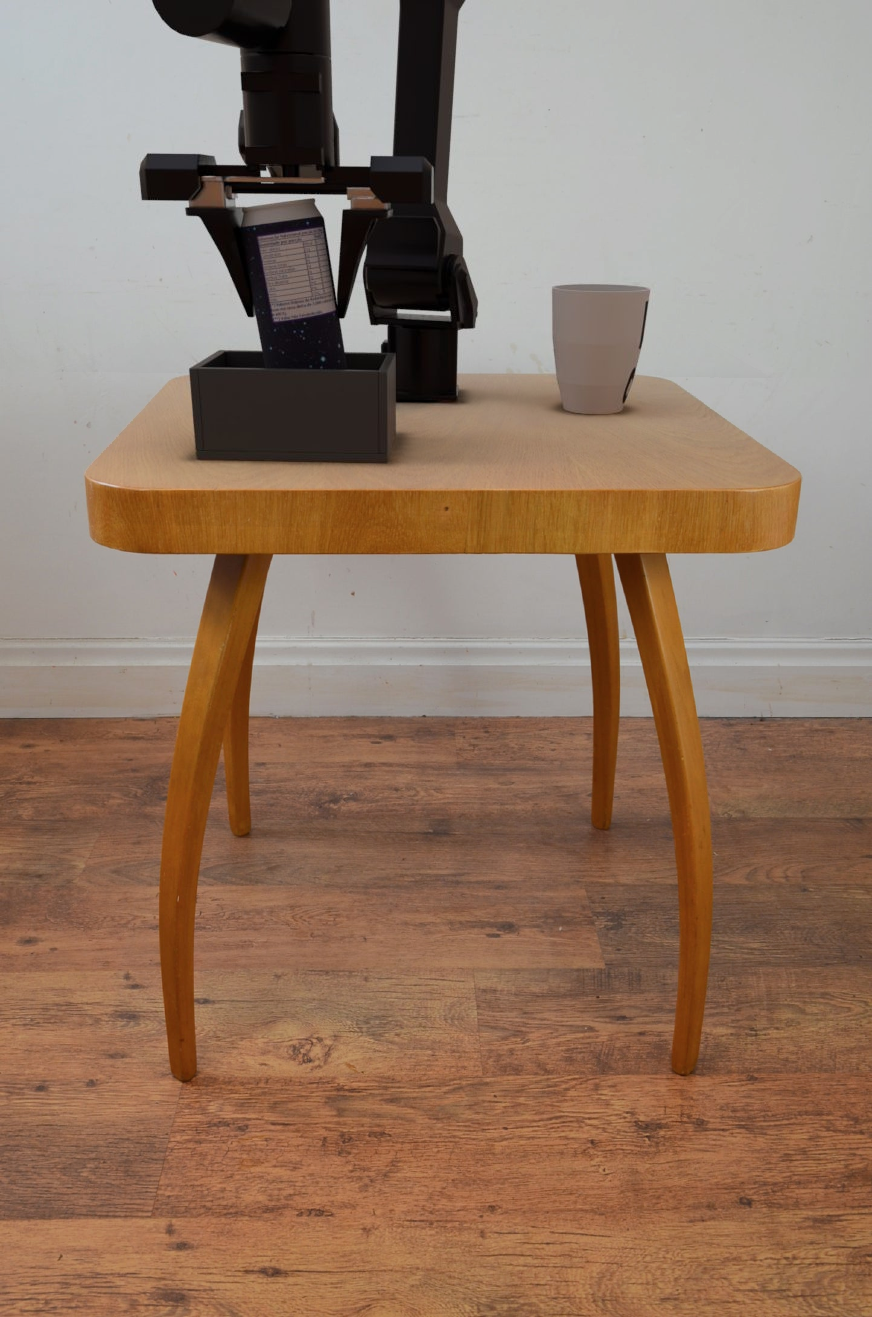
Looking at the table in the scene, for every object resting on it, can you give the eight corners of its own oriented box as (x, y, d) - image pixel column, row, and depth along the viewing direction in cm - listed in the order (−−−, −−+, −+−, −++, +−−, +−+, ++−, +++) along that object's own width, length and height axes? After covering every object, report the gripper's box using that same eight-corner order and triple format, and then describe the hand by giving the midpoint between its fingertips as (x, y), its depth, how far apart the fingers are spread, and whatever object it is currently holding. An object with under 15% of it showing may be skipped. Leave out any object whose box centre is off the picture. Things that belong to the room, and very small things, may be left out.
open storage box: (395, 434, 80) (395, 352, 77) (387, 462, 71) (387, 371, 69) (224, 431, 80) (218, 349, 77) (196, 459, 71) (188, 368, 69)
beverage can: (361, 375, 75) (334, 195, 70) (329, 391, 70) (297, 199, 66) (291, 380, 77) (260, 206, 72) (255, 396, 72) (220, 210, 68)
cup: (653, 416, 88) (664, 291, 84) (559, 418, 86) (567, 291, 82) (621, 399, 95) (631, 283, 91) (535, 401, 94) (541, 283, 90)
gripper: (436, 73, 73) (434, 307, 79) (171, 70, 73) (190, 304, 80) (432, 54, 63) (430, 324, 69) (124, 51, 63) (150, 320, 69)
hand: (297, 317), depth 72 cm, fingers closed on beverage can, 6 cm apart
